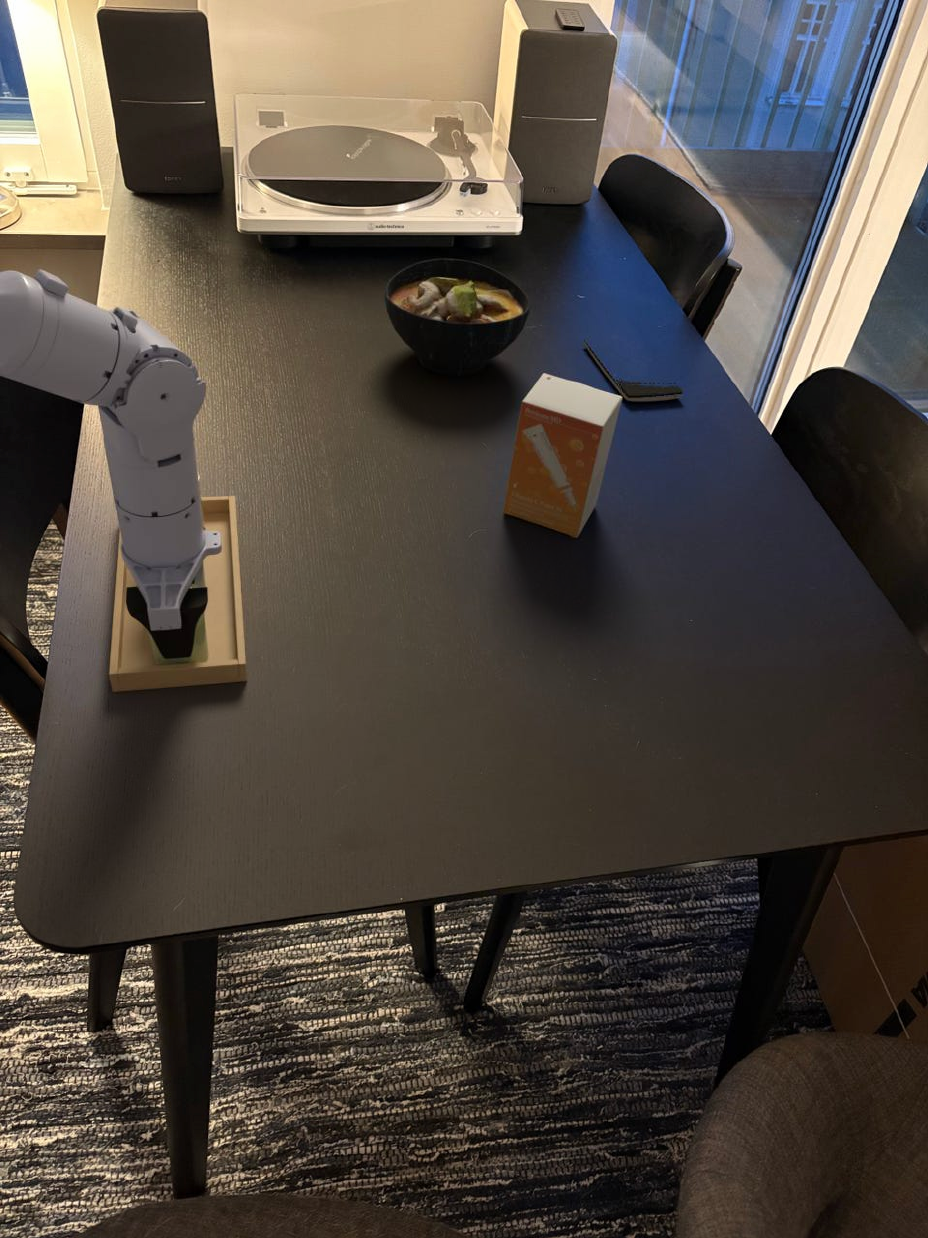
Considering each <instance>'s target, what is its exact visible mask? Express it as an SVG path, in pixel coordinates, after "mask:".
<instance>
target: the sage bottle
mask: <svg viewBox="0 0 928 1238" xmlns="http://www.w3.org/2000/svg"><path fill="white" fill-rule="evenodd" d="M189 588H198V587H197V586H196V585H194V584H192V583H191V585H190V587H189ZM148 633H149V632H148ZM149 639H150V645H151V651H152V657H153V661H154V663H155V664H156V665H157V666H159V665H172V664H185V663H197V662H205V661H206V660H207V658H208V656H209V645H208V636H207V628H206V619H205V612H204V613H203V614H202V615H201V617H200V618H199V620H198V623H197V626H196V630H195V638H194V646H193V651H192V654H191V656H190V657H186V658H173V659H164V658H163V656H162V655H161V653H160V651H159V650H158V648H157V646H156V644H155V642H154V640H153V638H152V636H151V635H150V633H149Z"/></svg>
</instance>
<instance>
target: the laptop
mask: <svg viewBox="0 0 928 1238" xmlns="http://www.w3.org/2000/svg"><path fill="white" fill-rule="evenodd" d="M583 344H584V346H585V347H586V349H587V351H588V352H589V354H590V355H591V357H592V358H593V359H594V361H595V362H596V364H597V365H598V366H599V367H600V369H601V370H602V372H603V373H604V375H605V377H607V379H608V380H609V381H610V383H612V385H613V386H614V387H615V388H616V390H617V391H618V392H619V394H620V395H621V396H622V398H623V397H624V399H625V400H626V401H629V402H659V401H668V400H675V399H680V398H682V397H683V395H684V392H683V390H682V389H681V387H680V386H679V385H678V386H675V385H674V386H675V387H674V386H671V385H670V386H671V387H670V386H669V387H668V386H667V387H664V386H663V387H664V388H662V386H661V387H660V386H658V387H657V386H656V387H655V385H653V386H654V387H653V386H650V385H649V386H646V385H643V386H642V385H639V384H642V383H640V382H638V383H637V382H636V383H635V382H632V383H631V382H628V381H627V383H626V381H625V382H623V380H621V381H618V380H616V381H617V382H618V384H619V386H620V387H621V388H620V387H619V386H618V384H617V383H616V382H615V380H614V379H613V378H612V376H611V375H610V374H609V372H608V371H607V370H606V368H605V367H604V366H603V364H602V363H601V362H600V360H599V359H598V358H597V356H596V355H595V354H594V352H593V351H592V350H591V348H590V347H589V346H588V344H587V343H586V342H585V340H584V339H583ZM619 380H620V379H619ZM643 383H644V382H643ZM652 383H653V382H652ZM627 384H628V385H627ZM630 384H631V385H630ZM632 384H633V385H632ZM634 384H635V385H634ZM637 384H638V385H637ZM644 384H647V383H644ZM649 384H651V383H649ZM653 384H655V383H653ZM658 384H660V383H658ZM663 384H664V383H663ZM667 384H668V383H667ZM669 384H672V383H669ZM673 384H677V383H676V382H675V383H673ZM651 385H652V384H651ZM645 386H646V387H645ZM621 389H622V390H621ZM624 393H625V394H624ZM682 393H683V395H676V394H682ZM674 394H675V396H667V395H674ZM664 395H666V397H656V396H664ZM653 396H654V397H653ZM643 397H653V398H643Z"/></svg>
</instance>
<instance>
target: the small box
mask: <svg viewBox="0 0 928 1238" xmlns="http://www.w3.org/2000/svg"><path fill="white" fill-rule="evenodd" d="M622 402H623V395H618V394H615V393H611V392H608V391H605V390H601V389H599V388H595V387H593V386H590V385H587V384H584V383H581V382H578V381H572V380H568V379H565V378H562V377H558V376H555V375H551V374H548V373H545V372H544V373H542V374H541V376H540V378H539V379H538V380H537V381H536V383H535V384H534V385H533V386H532V388H531V389H530V390H529V392H528V393H527V395H526V396H524V399H523V400H522V401H521V406H520V412H519V417H518V422H517V428H516V434H515V442H514V446H513V450H512V451H513V452H512V457H511V463H510V469H509V474H508V481H507V486H506V487H507V488H506V493H505V498H504V499H505V500H504V505H503V514H505V515H508V516H512V517H515V518H518V519H521V520H524V521H527V522H530V523H533V524H536V525H539V526H542V527H544V528H548V529H550V530H553V531H556V532H558V533H559V532H560V533H562V534H565V535H568V536H569V537H572V538H575V539H577V538H579V535H580V534H581V532H582V530H583V528H584V527H585V525H586V523H587V522H588V519H589V518H590V516H591V514H592V513H593V512H594V509H595V507H596V505H597V502H598V498H599V496H600V495H599V494H600V491H601V487H602V484H603V483H602V482H603V479H604V475H605V470H606V467H607V462H608V458H609V453H610V449H611V445H612V441H613V439H614V438H613V437H614V433H615V429H616V425H617V421H618V417H619V413H620V409H621V405H622Z"/></svg>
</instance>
